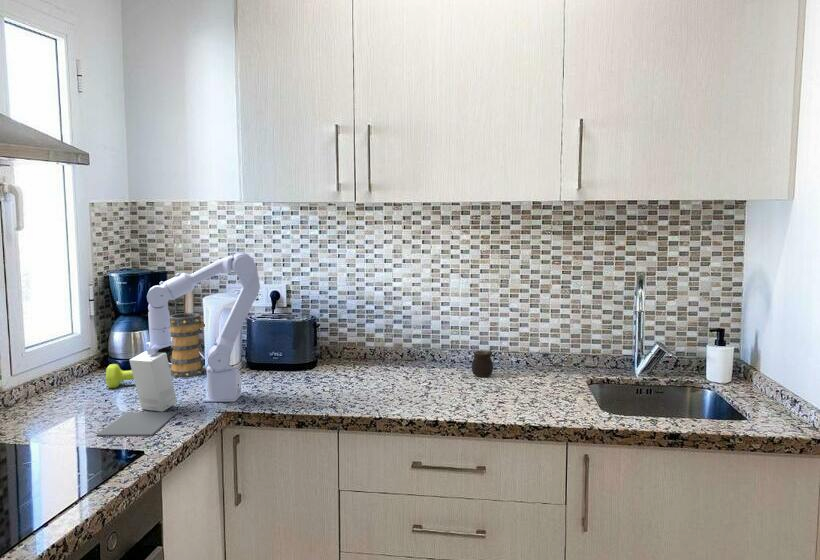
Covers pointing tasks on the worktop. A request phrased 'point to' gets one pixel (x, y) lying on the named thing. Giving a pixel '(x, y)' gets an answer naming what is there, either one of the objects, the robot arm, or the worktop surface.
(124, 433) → the charcoal rubber mat
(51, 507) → the worktop surface
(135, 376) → the skincare box
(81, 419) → the worktop surface
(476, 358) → the mate gourd
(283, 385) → the worktop surface
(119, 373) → the dumbbell
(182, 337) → the mug
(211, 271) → the robot arm
